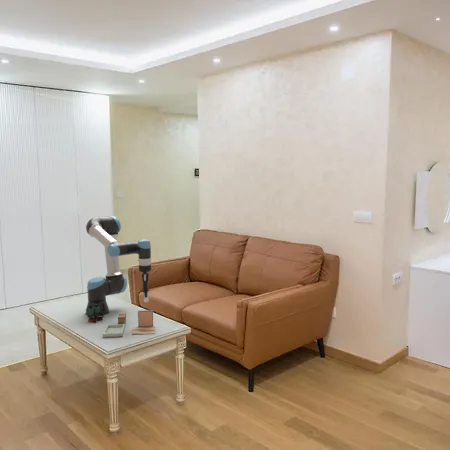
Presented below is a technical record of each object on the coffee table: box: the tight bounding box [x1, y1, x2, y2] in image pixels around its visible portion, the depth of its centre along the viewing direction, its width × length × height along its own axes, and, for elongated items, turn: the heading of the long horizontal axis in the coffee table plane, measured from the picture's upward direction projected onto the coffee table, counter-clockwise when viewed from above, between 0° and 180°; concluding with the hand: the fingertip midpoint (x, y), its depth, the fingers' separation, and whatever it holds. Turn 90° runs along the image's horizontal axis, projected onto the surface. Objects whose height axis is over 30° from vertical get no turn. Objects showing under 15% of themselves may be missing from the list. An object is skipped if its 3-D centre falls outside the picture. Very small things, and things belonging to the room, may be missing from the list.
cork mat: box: [131, 326, 156, 336], centre depth 263 cm, size 11×13×1 cm
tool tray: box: [102, 323, 126, 339], centre depth 261 cm, size 16×11×2 cm
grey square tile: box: [137, 309, 154, 327], centre depth 270 cm, size 1×9×10 cm, turn 97°
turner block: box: [117, 311, 127, 325], centre depth 275 cm, size 10×4×6 cm, turn 9°
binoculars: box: [87, 303, 105, 323], centre depth 281 cm, size 9×11×10 cm
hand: (146, 301), depth 275 cm, fingers closed
